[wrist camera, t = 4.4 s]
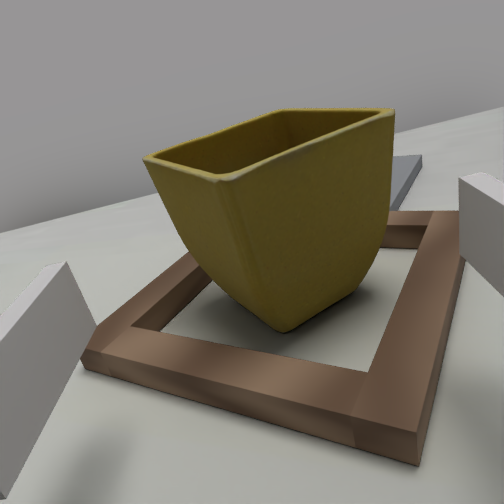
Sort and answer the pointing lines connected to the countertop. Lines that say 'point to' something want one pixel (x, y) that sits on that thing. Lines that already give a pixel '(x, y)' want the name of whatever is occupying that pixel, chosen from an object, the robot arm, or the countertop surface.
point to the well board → (296, 370)
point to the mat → (403, 177)
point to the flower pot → (283, 205)
